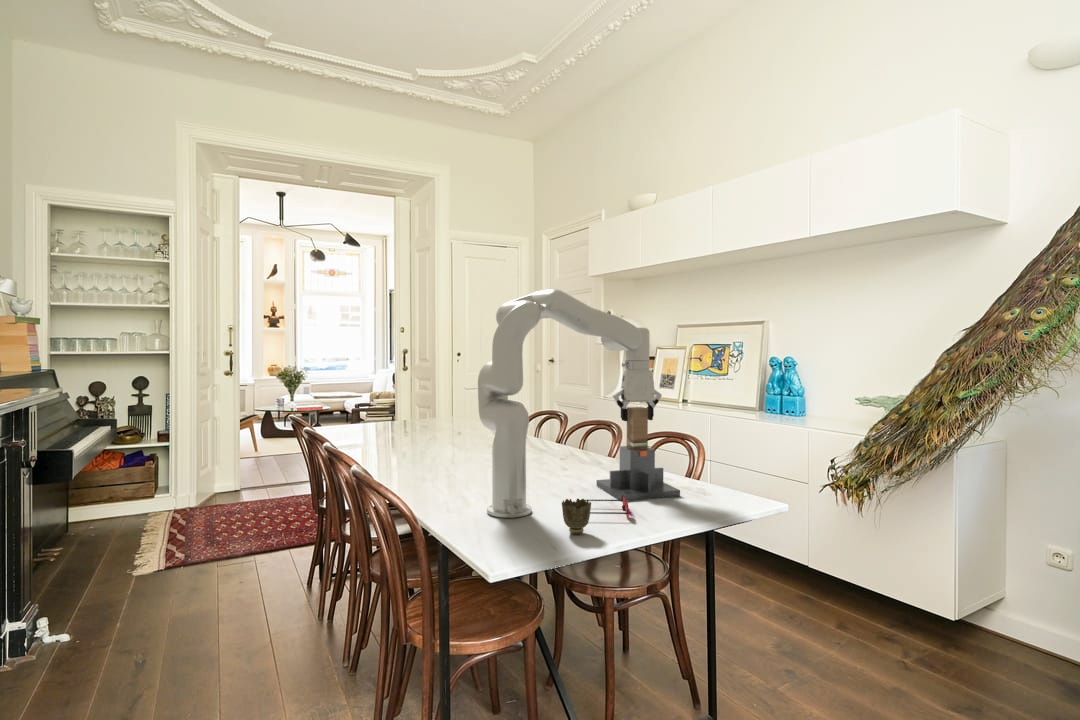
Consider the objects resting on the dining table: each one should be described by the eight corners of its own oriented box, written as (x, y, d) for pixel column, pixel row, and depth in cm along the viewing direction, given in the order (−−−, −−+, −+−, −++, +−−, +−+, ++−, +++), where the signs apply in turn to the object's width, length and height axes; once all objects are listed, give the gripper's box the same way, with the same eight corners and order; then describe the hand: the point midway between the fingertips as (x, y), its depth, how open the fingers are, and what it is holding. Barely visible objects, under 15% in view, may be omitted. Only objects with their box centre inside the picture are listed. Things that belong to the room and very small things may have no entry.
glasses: (632, 523, 161) (632, 504, 161) (570, 522, 162) (570, 504, 162) (626, 508, 175) (626, 491, 175) (569, 508, 176) (569, 491, 176)
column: (647, 467, 192) (648, 408, 191) (633, 468, 191) (633, 408, 190) (640, 464, 197) (641, 406, 196) (626, 465, 195) (626, 407, 195)
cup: (589, 528, 155) (589, 497, 155) (592, 537, 148) (593, 505, 147) (560, 528, 155) (560, 498, 155) (562, 538, 147) (562, 505, 147)
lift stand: (680, 496, 187) (680, 451, 187) (620, 501, 182) (620, 455, 181) (650, 482, 206) (651, 441, 206) (596, 486, 201) (596, 444, 200)
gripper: (616, 366, 187) (616, 422, 187) (667, 366, 191) (667, 420, 192) (607, 365, 194) (607, 419, 194) (656, 365, 199) (656, 417, 199)
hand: (637, 420), depth 193 cm, fingers open, 8 cm apart
